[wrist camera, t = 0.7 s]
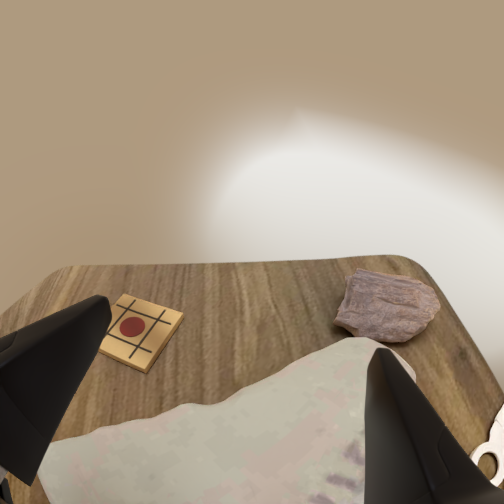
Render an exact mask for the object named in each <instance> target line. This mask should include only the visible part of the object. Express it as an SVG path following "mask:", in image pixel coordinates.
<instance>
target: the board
mask: <svg viewBox="0 0 504 504" xmlns="http://www.w3.org/2000/svg"><path fill="white" fill-rule="evenodd" d="M111 312H112V321H111V323H110V326H109V328H108V330H107V332H106V334H105V336H104V339H103V341H102V343H101V345H100V348H99V350H98V351H99V352H101V353H103V354H105V355H107V356H109V357H111V358H113V359H115V360H117V361H119V362H121V363H124V364H126V365H128V366H130V367H132V368H135V369H137V370H139V371H141V372H144V373H146V374H147V372H148V371H149V369H150V368H151V366H152V365H153V363H154V362H155V360H156V359H157V357H158V356H159V354H160V353H161V351H162V350H163V348H164V347H165V345H166V344H167V342H168V341H169V339H170V338H171V336H172V335H173V333H174V332H175V330H176V329H177V327H178V326H179V324H180V323H181V321H182V320H183V319H184V316H183V313H182V312H178V311H175V310H172V309H169V308H166V307H163V306H159V305H156V304H153V303H150V302H147V301H144V300H141V299H138V298H135V297H132V296H130V295H127V294H123V295H122V296H121V297H120V298H119V300H118V301H117V302H116V303H115V304H114V305H113V306H112V307H111Z"/></svg>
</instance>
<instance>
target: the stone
mask: <svg viewBox="0 0 504 504" xmlns="http://www.w3.org/2000/svg"><path fill="white" fill-rule="evenodd" d="M378 347H381V348H388V347H386V346H384V345H382V344H380V343H378V342H376V341H374V340H372V339H369V338H367V337H354V338H345V339H343V340H341V341H339V342H337V343H335V344H332V345H330V346H328V347H326V348H324V349H322V350H319V351H316V352H313V353H311V354H309V355H307V356H305V357H303V358H301V359H299V360H297V361H295V362H293V363H291V364H290V365H288V366H287V367H285V368H284V369H282V370H281V371H280V372H278V373H276V374H274V375H271V376H269V377H267V378H265V379H263V380H261V381H259V382H257V383H255V384H252V385H250V386H247V387H244V388H242V389H240V390H239V391H238V392H236V393H235V394H233V395H232V396H230V397H229V398H228V399H226V400H225V401H223V402H220V403H216V404H213V405H200V404H194V403H188V404H181V405H179V406H177V407H175V408H174V409H172V410H170V411H167V412H165V413H162V414H160V415H158V416H156V417H154V418H150V419H137V420H132V421H128V422H125V423H122V424H119V425H113V426H105V427H100V428H98V429H96V430H94V431H93V432H91V433H89V434H86V435H83V436H79V437H74V438H68V439H64V440H60V441H56V442H53V443H50V445H49V447H48V449H47V451H46V453H45V456H44V458H43V460H42V462H41V465H40V467H39V469H38V471H37V474H38V477H39V479H40V481H41V484H42V486H43V488H44V491H45V493H46V495H47V497H48V499H49V501H50V503H51V504H364V485H365V423H364V410H365V396H366V380H367V368H368V364H369V362H370V360H371V358H372V356H373V354H374V351H375V350H376V348H378ZM390 350H391V349H390ZM391 351H392V352H393V354H394V355H395V356H396V358H397V359H398V360H399V362H400V363H401V364H402V366H403V367H404V368H405V370H406V371H407V372H408V374H409V375H410V376H411V378H412V379H413V380H414V382H415V383H416V374H415V372H414V370H413V369H412V368H411V366H410V365H409V364H408V363H407V362H406V361H405V360H404V359H403V358H401V357H400V356H399V355H398V354H397V353H396V352H395V351H393V350H391Z"/></svg>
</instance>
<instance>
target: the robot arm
mask: <svg viewBox="0 0 504 504" xmlns="http://www.w3.org/2000/svg"><path fill="white" fill-rule="evenodd" d="M111 321H112V312H111V308H110V304H109V300H108V298H107V297H105V296H102V295H94V296H92V297H90V298H88V299H85V300H83V301H81V302H79V303H76V304H74V305H72V306H70V307H67V308H65V309H63V310H61V311H59V312H56V313H54V314H52V315H50V316H47V317H45V318H43V319H41V320H39V321H36V322H34V323H32V324H30V325H28V326H26V327H23V328H21V329H19V330H18V331H15V332H13V333H10V334H8V335H6V336H4V337H2V338H0V504H13V501H12V497H11V493H10V489H9V484H8V480H7V479H6V478H5V475H6V474H7V472H8V471H9V472H10V473H12V474H13V475H14V476H16V477H17V478H18V479H20V480H21V481H23V482H24V483H25V484H27V485H28V486H30V487H31V485H32V483H33V481H34V479H35V476H36V474H37V471H38V469H39V467H40V465H41V462H42V460H43V458H44V456H45V453H46V451H47V449H48V447H49V445H50V442H51V440H52V438H53V436H54V434H55V432H56V430H57V428H58V426H59V424H60V422H61V420H62V418H63V416H64V414H65V412H66V410H67V408H68V406H69V404H70V402H71V400H72V398H73V396H74V394H75V393H76V391H77V389H78V387H79V385H80V383H81V381H82V380H83V378H84V376H85V374H86V372H87V370H88V369H89V367H90V365H91V363H92V362H93V360H94V358H95V356H96V354H97V352H98V350H99V348H100V345H101V343H102V341H103V339H104V336H105V334H106V332H107V330H108V328H109V326H110V323H111ZM364 423H365V485H364V504H504V490H502V489H500V488H498V487H496V486H495V485H494V484H492V483H491V482H490V481H489V480H488V479H487V477H486V476H485V475H484V474H483V473H482V471H481V470H480V469H479V468H478V467H477V465H476V464H475V463H474V462H473V461H472V459H471V458H470V457H469V456H468V455H467V453H466V452H465V451H464V450H463V448H462V447H461V446H460V445H459V443H458V442H457V440H456V439H455V438H454V436H453V435H452V434H451V432H450V431H449V429H448V428H447V426H445V424H444V422H443V421H442V419H441V418H440V416H439V415H438V414H437V412H436V411H435V409H434V408H433V407H432V405H431V404H430V402H429V401H428V400H427V398H426V397H425V395H424V394H423V393H422V391H421V390H420V389H419V387H418V386H417V384H416V383H415V382H414V380H413V379H412V378H411V376H410V375H409V374H408V372H407V371H406V370H405V368H404V367H403V366H402V364H401V363H400V362H399V360H398V359H397V358H396V356H395V355H394V354H393V352H392V351H391V350H390V349H389V348H381V347H378V348H376V350H375V351H374V354H373V356H372V358H371V360H370V362H369V364H368V368H367V380H366V396H365V410H364Z"/></svg>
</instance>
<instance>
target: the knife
mask: <svg viewBox="0 0 504 504" xmlns="http://www.w3.org/2000/svg"><path fill="white" fill-rule="evenodd" d="M487 452H490V453H493V454H494V455H495V456H496V458H497V461H498V470H497V473H496V475H495V476H494V478H493V479H492V480H490V482H491V483H492V484H494V485H495V486H496V487H497V486H498V485H499V484H500V483H501V482H502V480H503V479H504V404H503V406H502V408H501V410H500V411H499V412H498V414H497V416H496V418H495V420H494V424H493V426H492V428H491V430H490V439H489V442H485V443H483V444H481V445H480V446H478V447H477V448H476V449H475V450H474V451H473V452H472V453H471V455H470V458H471V459H472V461H473V462H474V463H475V464H476V465H477V463H478V460H479V458H480V457H481V456H482V454H484V453H487Z"/></svg>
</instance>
